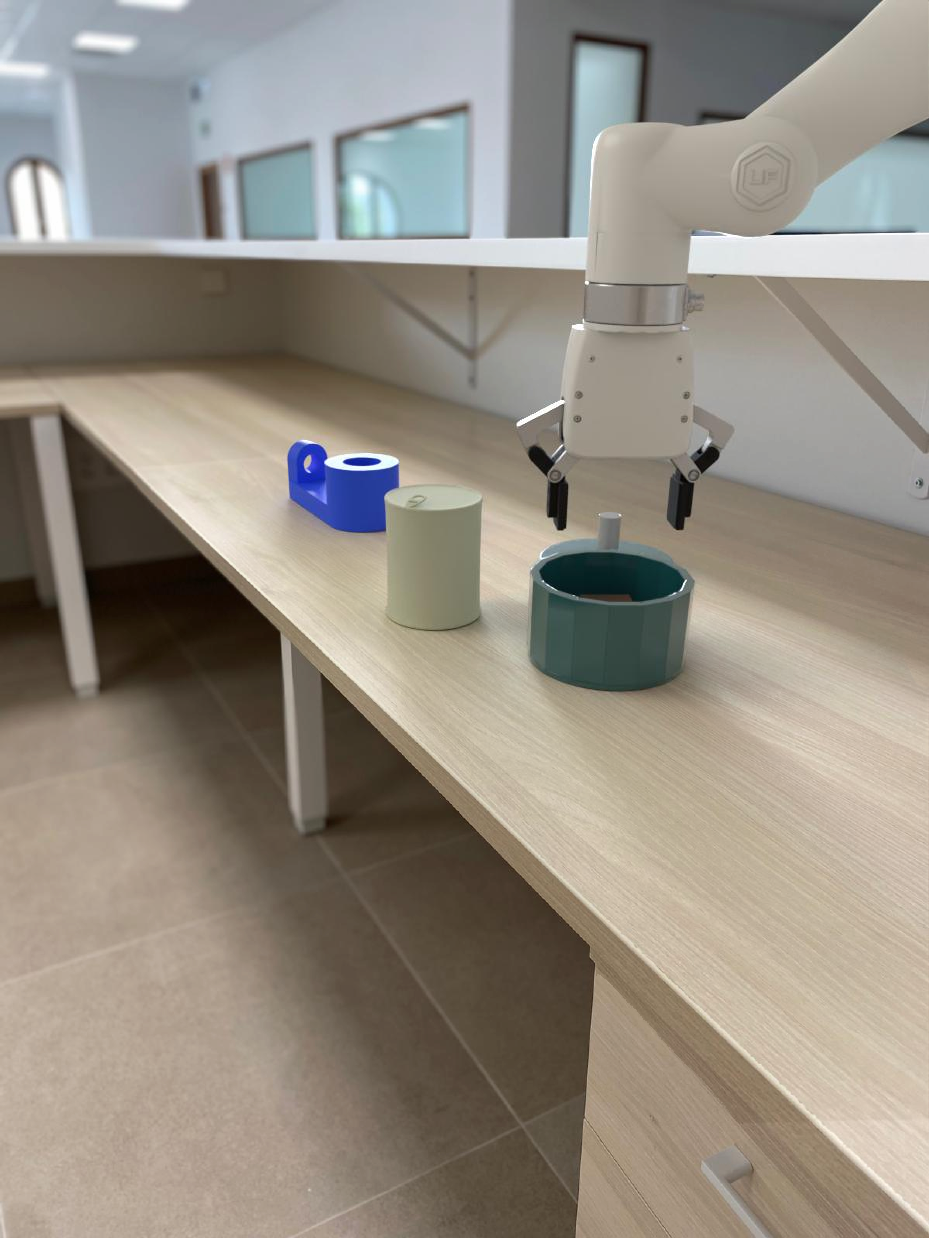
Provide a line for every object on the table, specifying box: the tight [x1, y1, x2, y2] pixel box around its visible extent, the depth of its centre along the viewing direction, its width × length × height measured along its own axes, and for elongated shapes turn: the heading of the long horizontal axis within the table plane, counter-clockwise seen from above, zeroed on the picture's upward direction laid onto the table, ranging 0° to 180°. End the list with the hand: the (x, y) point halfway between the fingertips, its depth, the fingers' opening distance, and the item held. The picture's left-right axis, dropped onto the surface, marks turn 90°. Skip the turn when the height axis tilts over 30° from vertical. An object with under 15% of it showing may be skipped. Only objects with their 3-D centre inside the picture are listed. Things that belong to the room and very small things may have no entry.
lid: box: [539, 511, 675, 564], centre depth 101 cm, size 15×15×6 cm
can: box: [384, 483, 484, 631], centre depth 88 cm, size 9×9×12 cm
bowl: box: [526, 550, 696, 692], centre depth 80 cm, size 14×14×8 cm
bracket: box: [286, 439, 400, 533], centre depth 119 cm, size 20×9×8 cm, turn 38°
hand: (617, 525), depth 77 cm, fingers open, 9 cm apart
